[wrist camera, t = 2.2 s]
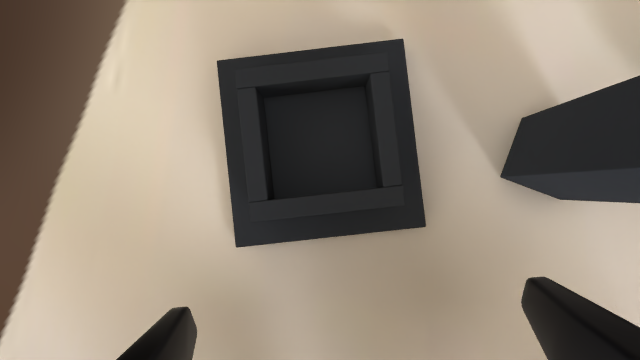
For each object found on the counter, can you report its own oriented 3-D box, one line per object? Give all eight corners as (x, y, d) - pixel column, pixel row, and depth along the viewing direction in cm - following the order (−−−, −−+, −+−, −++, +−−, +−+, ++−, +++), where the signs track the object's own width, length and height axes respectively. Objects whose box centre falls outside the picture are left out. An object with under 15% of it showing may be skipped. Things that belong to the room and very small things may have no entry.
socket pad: (421, 225, 23) (439, 231, 19) (239, 245, 23) (223, 255, 19) (399, 44, 23) (413, 18, 19) (221, 66, 23) (202, 43, 20)
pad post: (560, 199, 22) (882, 214, 9) (499, 177, 23) (735, 160, 10) (582, 140, 23) (931, 73, 10) (521, 117, 23) (784, 22, 10)
